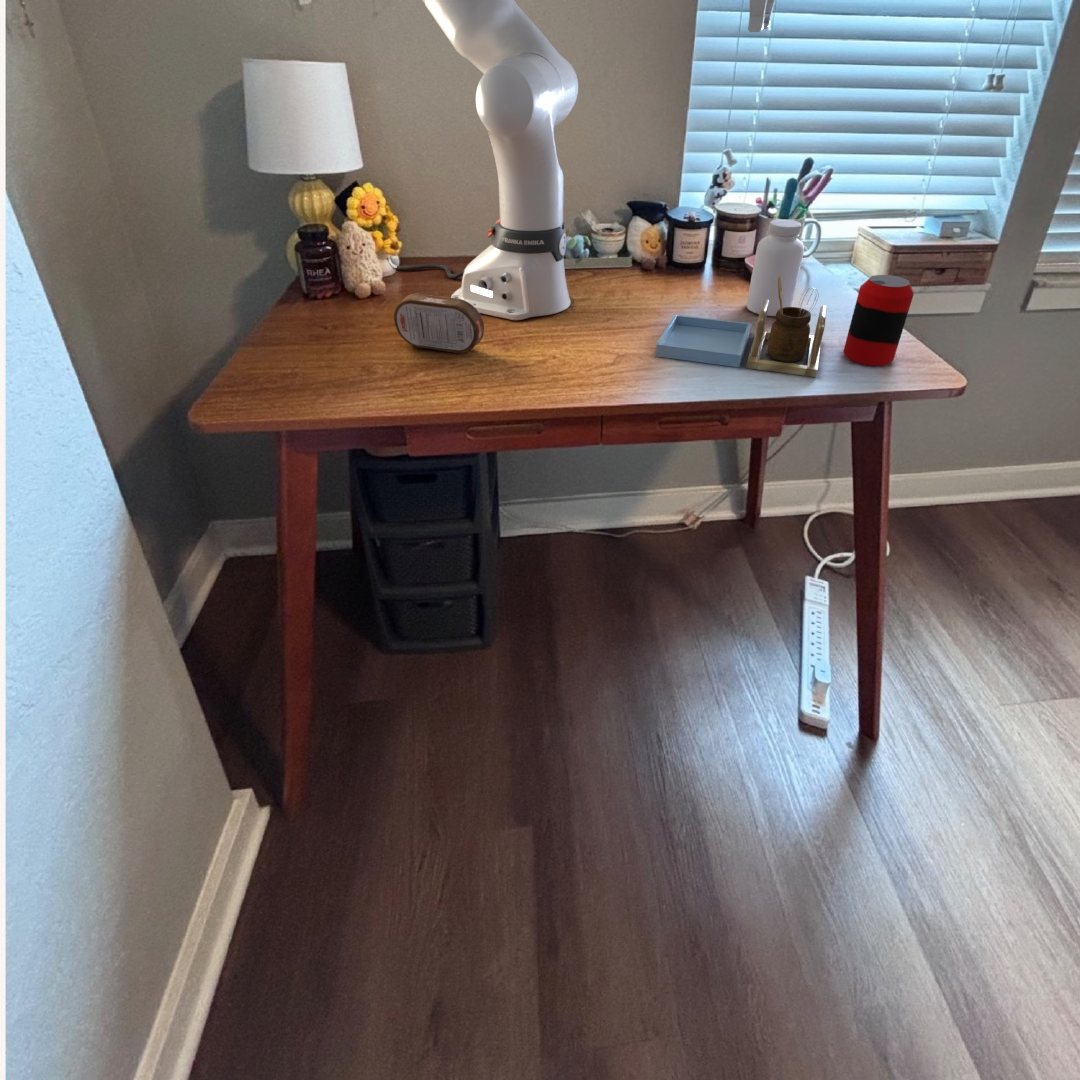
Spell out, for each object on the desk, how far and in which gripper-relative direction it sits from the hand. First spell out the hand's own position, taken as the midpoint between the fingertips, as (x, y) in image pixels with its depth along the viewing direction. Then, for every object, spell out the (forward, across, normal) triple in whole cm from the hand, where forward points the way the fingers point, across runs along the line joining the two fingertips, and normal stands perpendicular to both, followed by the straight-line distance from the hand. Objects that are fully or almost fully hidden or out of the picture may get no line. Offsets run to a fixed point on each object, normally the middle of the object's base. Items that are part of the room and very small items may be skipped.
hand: (758, 30), depth 99 cm
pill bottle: (+42, -13, +7) cm, 45 cm away
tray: (+42, +7, -1) cm, 43 cm away
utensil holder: (+42, +7, +12) cm, 45 cm away
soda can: (+43, +4, +24) cm, 49 cm away
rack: (+42, +7, +12) cm, 44 cm away
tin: (+42, +23, -42) cm, 63 cm away
